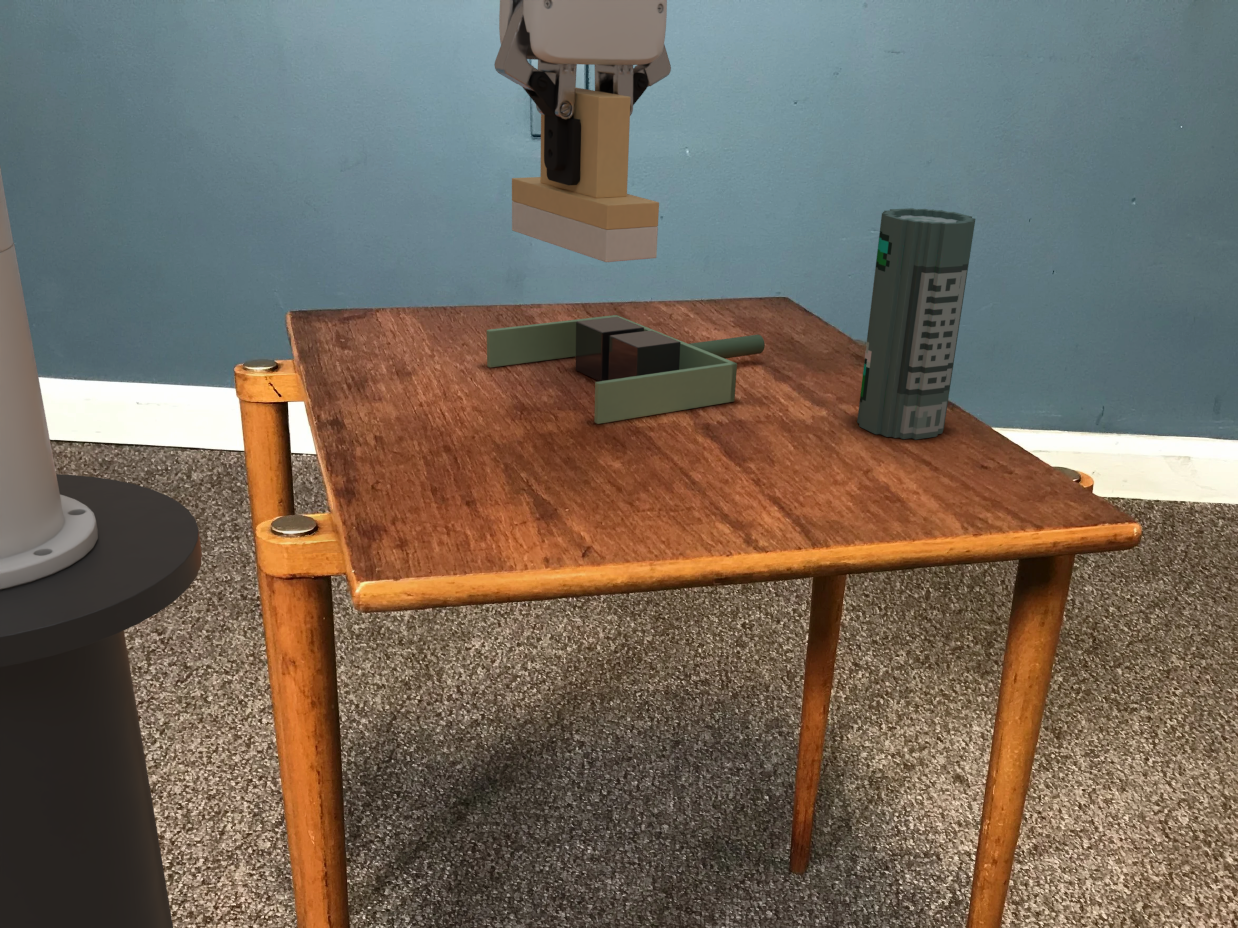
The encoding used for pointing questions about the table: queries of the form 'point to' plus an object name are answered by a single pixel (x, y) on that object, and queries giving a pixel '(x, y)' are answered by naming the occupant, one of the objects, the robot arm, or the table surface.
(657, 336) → the black cube
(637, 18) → the robot arm
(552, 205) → the wooden block stamp
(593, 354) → the black metallic cube
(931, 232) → the can
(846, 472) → the table surface
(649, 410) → the green u-shaped rake
